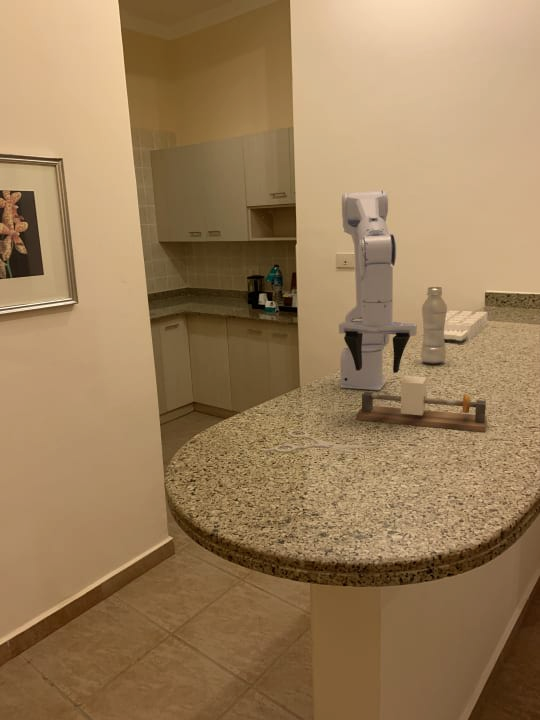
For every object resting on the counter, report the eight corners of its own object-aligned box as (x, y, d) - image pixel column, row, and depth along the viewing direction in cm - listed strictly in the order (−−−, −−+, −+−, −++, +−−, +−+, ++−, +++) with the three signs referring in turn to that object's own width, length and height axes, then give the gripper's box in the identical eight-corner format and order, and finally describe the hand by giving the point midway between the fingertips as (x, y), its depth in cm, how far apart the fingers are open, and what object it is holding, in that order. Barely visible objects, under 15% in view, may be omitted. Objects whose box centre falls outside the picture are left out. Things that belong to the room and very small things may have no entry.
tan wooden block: (400, 413, 103) (401, 382, 101) (405, 406, 107) (405, 375, 105) (422, 415, 101) (423, 383, 100) (425, 407, 105) (426, 377, 104)
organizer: (487, 312, 190) (465, 330, 161) (487, 325, 191) (464, 346, 162) (449, 310, 196) (421, 328, 168) (449, 323, 198) (420, 343, 169)
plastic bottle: (419, 365, 142) (420, 289, 137) (422, 359, 148) (423, 286, 143) (444, 366, 140) (446, 289, 135) (446, 360, 146) (448, 286, 141)
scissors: (284, 428, 103) (390, 438, 95) (284, 432, 103) (390, 442, 95) (262, 450, 93) (377, 463, 85) (262, 454, 93) (377, 468, 86)
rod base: (356, 419, 106) (355, 392, 105) (363, 409, 111) (363, 383, 110) (484, 432, 96) (486, 402, 95) (486, 420, 102) (487, 392, 100)
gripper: (333, 303, 101) (335, 373, 104) (412, 304, 95) (411, 378, 98) (344, 298, 107) (345, 364, 110) (419, 298, 101) (418, 368, 105)
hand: (377, 370), depth 105 cm, fingers open, 7 cm apart
